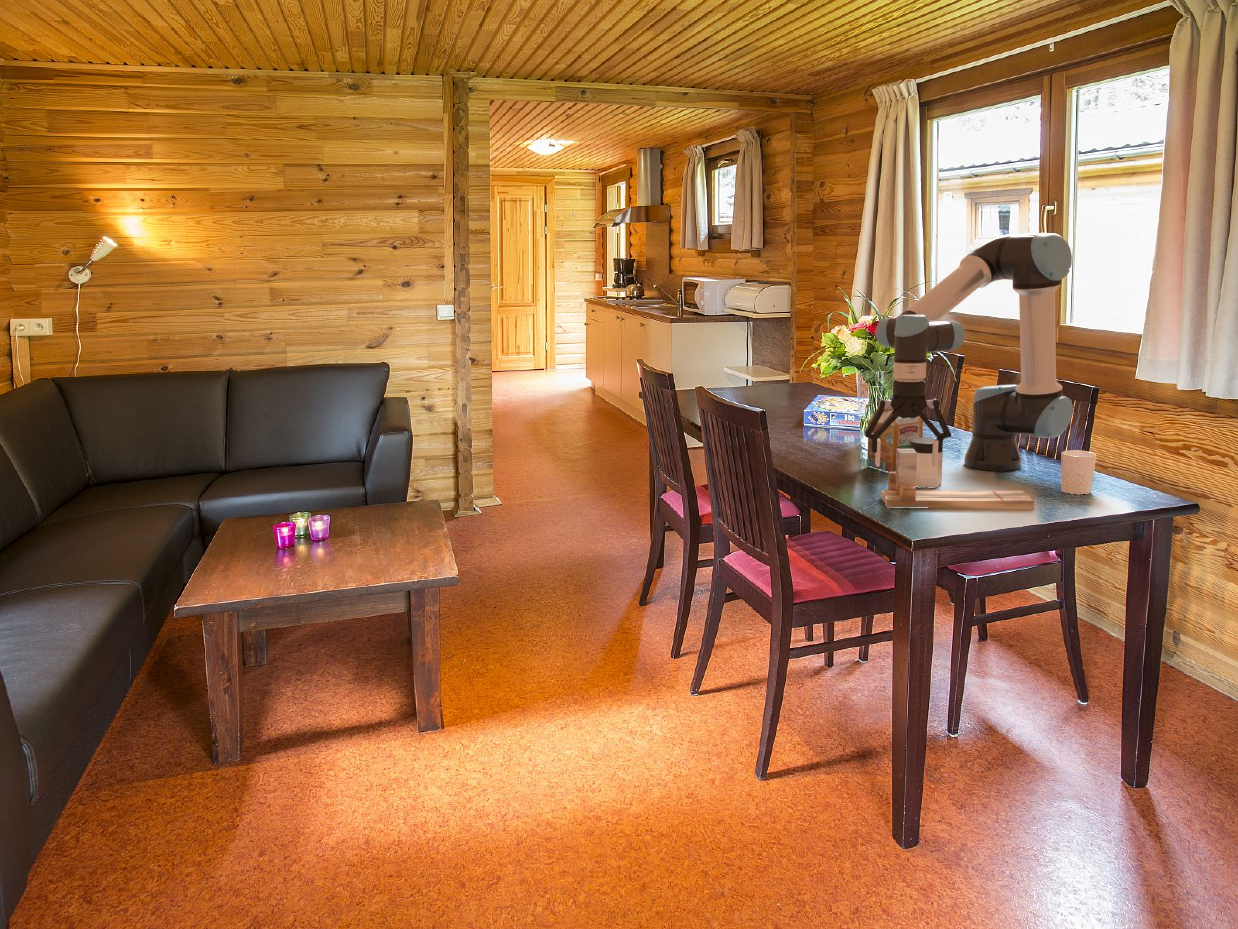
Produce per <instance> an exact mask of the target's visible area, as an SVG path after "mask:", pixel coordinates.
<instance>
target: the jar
mask: <svg viewBox="0 0 1238 929" xmlns="http://www.w3.org/2000/svg"><path fill="white" fill-rule="evenodd" d="M910 449H914V450H915V451H916V452H917V465H916V485H914V486H918V487H937V488H938V487H940V486H941V485H942V477H943V457H944V456H943V454H944V450H943V449H942V453H938V462H937V467H934V466H933V465H932V453H933V438H931V437H923V438H915V439H911V440H910ZM939 485H940V486H939Z"/></svg>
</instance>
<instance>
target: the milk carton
mask: <svg viewBox="0 0 1238 929" xmlns="http://www.w3.org/2000/svg"><path fill="white" fill-rule="evenodd" d="M892 411H893V408H892V407H891V405H889V406H888V407H887V409H884V412H883V414H882V416H881V417H880V419H879V421H878V423H877V425H876V426H875V428H874V430H873V432H872V433H874V432H875V431H876V430H877V428H878V427H879V426H880V425H881V424H882V423H883V422H884V421H885V420H886V419H887V418H888V417H889V415H890V414H891V413H892ZM873 416H874V414H873V415H871V417H870V418H869V419H868V422H867V424H868V425H869V423H870V421H871V419H872V418H873ZM868 425H867V426H868ZM923 436H924V422H923V420H922V419H921V418H920V417H919V416H918V417H916V418H909V417H908V418H901V417H898V418H897V419H896V420H895V421H894V422H893V423H892V424H891V425H890V426H889V427H888V428H887V429H886V430H885V431H884V432H883V433H882V435H881V436H880V437H879V438H878V439H880V440H881V446H880V467H877V466H876V465H875V455H876V453H873V452H872V450H871V442H872V440H871V439H870V438H867V461H866V463H867V464H866V465H868V466H872V467H875V468H877V469H882V470H885V471H888V472H896V456H897V449H910V440H911V439H915V438H924V437H923Z"/></svg>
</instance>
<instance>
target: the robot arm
mask: <svg viewBox="0 0 1238 929" xmlns="http://www.w3.org/2000/svg"><path fill="white" fill-rule="evenodd" d="M1072 257H1073V254H1072V250H1071V247H1070V245H1069V242H1068V241H1067V240H1065V238H1064V237H1063V236H1061V235H1059V234H1057V233H1048V232H1047V233H1046V232H1040V233H1039V232H1037V233H1036V232H1035V233H1023V234H1021V233H1020V234H1019V233H1018V234H1004V235H1000V236H997V237H996V238H993V239H991V240H989V241H986V242H985V243H983V244H981V245H980V246H978V247H977V248H975V249H973V250H972V251H970V253H968V254H967V255H966V256H964V257H963V258H962V259H961V260H960V263H959V266H958V267H957V268H956V269H954V270H953V271H952V272H951V273H949V275H948V276H946V277H945V278H943V279H942V280H941V281H940V282H939V283H937V284H936V285H935V286H933V288H931V289H930V290H928V291H927V292H926V293H925V294H924V295H923V296H922V297H919V299H918V300H916V301H915V302H914V303H912V305H910V306H909V307H908V308H907V309H905V310H904V311H903V312H901V313H900V314H899V315H898V316H896V317H887V318H886V317H885V318H883V319H882V320H880V321H879V322H878V324H877V325H876V328H875V338H876V342H877V343H878V344H879V345H880V346H882V347H884V348H891V349H894V350H893V351H894V353H893V374H892V375H893V378H894V380H893V382H892V398H891V400H888V399H884V398H880V399H879V400H878V405H877V408H876V410H875V412H874V414H873V415H874V416H873V415H872V416H873V418H872V419H871V421H870V423H869V425H867V427H866V429H865V430H864V432H863V435H864V436H865V438H867V439H868V438H870V439H871V440H872V442H871V450H872V452H873V453H876V455H875V465H876V466H877V467H880V446H881V440H880V439H878V438H879V437H880V436H881V435H882V433H883V432H884V431H885V430H886V429H887V428H888V427H889V426H890V425H891V424H892V423H893V422H894V421H895V420H896V419H897V418H898V417H901V418H908V417H909V418H916V417H918V416H919V417H920V418H921V419H922V420H923V424H925V425H926V426H927V428H928V429H929V430H930V431H931V432H932V433H933V435H934V436H935V437H936V438H933V453H932V465H933V466H934V467H937V462H938V453H942V450H943V449H944V448H943V446H944V445H943V444H944V440H945V439H947V438H948V439H949V438H951V436H952V433H951V431H950V428H949V426H948V424H947V423H946V420H945V418H944V416H943V414H942V412H941V410H940V403H939V400H938V399H937V398H932V399H926V381H925V380H924V379H926V378H927V360H928V354H930V353H931V354H932V353H941V352H942V353H943V352H946V353H948V352H950V351H956V350H957V349H959V348H960V347H961V346H962V345H963V343H964V340H965V334H966V332H965V329H964V327H963V325H962V324H961V323H960V321H957V320H954V319H953V320H952V319H951V320H950V319H944V320H941V319H942V318H943V317H945V316H946V315H947V314H949V313H950V312H951V311H952V310H953V309H954V308H956V307H957V306H958V305H960V304H961V303H962V302H964V301H965V299H967V298H968V297H970V295H972V294H973V293H974V292H975V291H976V290H978V289H982V288H985V287H987V286H988V285H990V284H991V283H993V282H997V281H1001V280H1008V281H1009V280H1010V281H1011V280H1012V290H1014V291H1015V292H1016V293H1017V294H1018V298H1019V300H1018V301H1019V302H1018V303H1019V306H1018V307H1019V342H1020V343H1019V344H1020V346H1019V347H1020V348H1019V349H1020V352H1019V354H1020V383H1019V384H1000V385H998V384H997V385H989V386H981V387H978V388H977V389H975V392H974V398H973V410H972V411H973V414H972V435H971V440H970V443H969V445H968V448H967V450H966V453H965V454H964V463H963V464H964V465H965V467H968V468H971V469H975V470H981V471H988V472H990V471H991V472H992V471H993V472H1001V471H1002V472H1006V471H1015V470H1018V469H1021V467H1022V458H1021V457H1022V456H1021V454H1020V453H1021V452H1020V449H1019V446H1018V443H1017V434H1019V435H1023V436H1024V435H1025V436H1031V437H1035V438H1037V439H1038V438H1039V439H1042V438H1043V439H1055V438H1057V437H1060V436H1061V435H1062V434H1063V433H1064V432H1065V431H1066V429H1067V427H1068V426H1069V425H1070V422H1071V421H1072V417H1073V413H1074V410H1073V409H1074V407H1073V406H1074V405H1073V403H1072V401H1071V398H1069V397H1067V396H1066V395H1063V394H1064V393H1063V385H1062V384H1060V383H1059V382H1058V381H1057V357H1056V356H1057V351H1056V350H1057V349H1056V346H1057V344H1056V343H1057V342H1056V335H1057V333H1056V332H1057V331H1056V291H1057V290H1058V288H1060V287H1061V286H1062V280H1063V279H1064V278H1066V277H1067V275H1068V274H1069V273H1070V269H1071V268H1072V264H1073V262H1072V261H1073V258H1072ZM889 405H891V407H892V408H893V411H892V413H891V414H890V415H889V417H888V418H887V419H886V420H885V421H884V422H883V423H882V424H881V425H880V426H879V427H878V428H877V430H876V431H875V432H874V433H872V432H873V430H874V428H875V426H876V425H877V423H878V421H879V419H880V417H881V416H882V414H883V412H884V409H887V407H888V406H889ZM927 406H928V407H929V408H930V409H932V412H933V414H934V416H935V418H936V420H937V422H938V424H939V426H940V428H941V430H942V432H940V431H939V430H938V428H937V427H936V426H935V425H934V424H933V422H932V421H931V420H930V419H929V418H928V416H927V415H926V414H925V413H924V412H923V411H924V410H925V408H926V407H927Z"/></svg>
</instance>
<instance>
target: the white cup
mask: <svg viewBox="0 0 1238 929" xmlns="http://www.w3.org/2000/svg"><path fill="white" fill-rule="evenodd" d="M1060 456H1061V458H1060V461H1061V462H1060V472H1061V473H1060V481H1061V484H1060V486H1061V487H1060V490H1061V492H1062V493H1064V494H1067V493H1070V494H1069V495H1073V494H1077V495H1076V496H1083V495H1082V494H1086V495H1089V493H1090V494H1091V492H1092V483H1093V480H1094V475H1095V468H1096V460H1097V454H1096V453H1095V452H1092V451H1086V450H1080V449H1079V450H1076V449H1075V450H1074V449H1070V450H1064V451H1062V452H1061V455H1060ZM1080 494H1081V495H1080Z"/></svg>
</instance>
